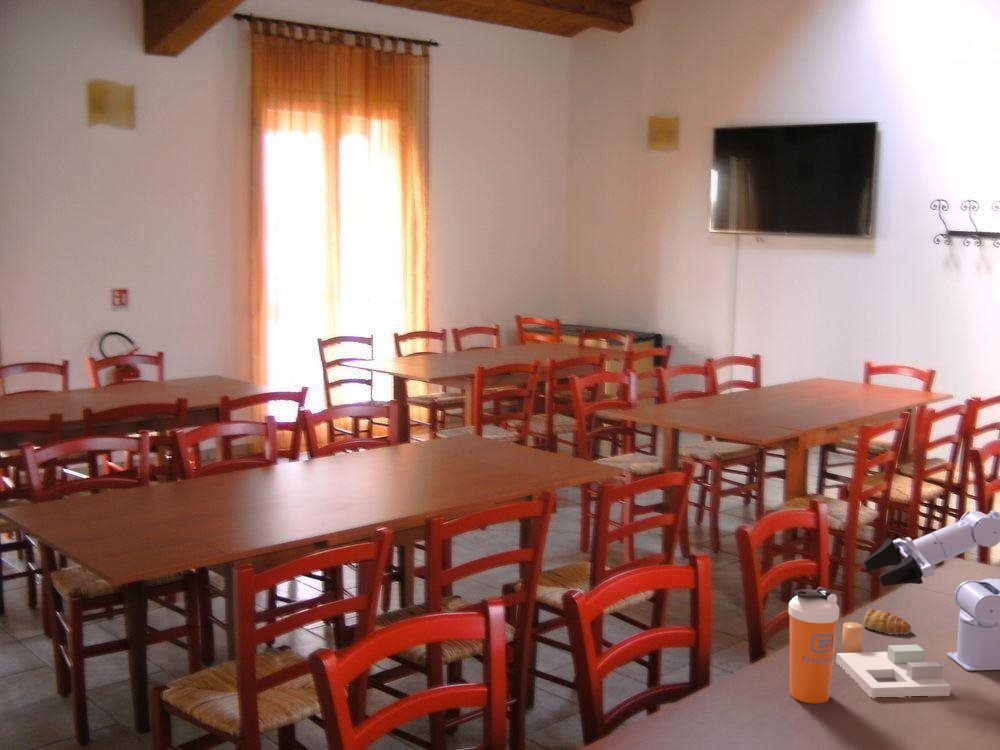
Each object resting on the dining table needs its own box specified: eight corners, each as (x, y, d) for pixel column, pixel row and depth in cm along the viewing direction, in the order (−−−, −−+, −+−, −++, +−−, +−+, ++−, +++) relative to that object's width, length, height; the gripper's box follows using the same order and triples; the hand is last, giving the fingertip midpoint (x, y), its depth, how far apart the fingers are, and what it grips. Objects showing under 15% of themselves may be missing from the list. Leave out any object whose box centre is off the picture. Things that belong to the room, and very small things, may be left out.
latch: (916, 656, 204) (917, 644, 203) (923, 662, 201) (924, 650, 200) (887, 657, 203) (887, 645, 203) (894, 663, 200) (894, 651, 200)
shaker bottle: (774, 689, 193) (779, 586, 190) (812, 681, 197) (817, 580, 194) (806, 709, 185) (811, 602, 182) (845, 701, 189) (851, 596, 186)
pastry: (914, 630, 223) (915, 613, 223) (905, 640, 218) (906, 623, 218) (870, 620, 229) (871, 604, 229) (860, 629, 224) (861, 613, 223)
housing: (908, 660, 207) (909, 639, 206) (949, 695, 191) (951, 672, 191) (836, 662, 206) (837, 641, 205) (871, 698, 190) (872, 675, 189)
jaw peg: (857, 649, 212) (858, 622, 211) (865, 657, 208) (867, 629, 207) (838, 650, 212) (839, 622, 211) (846, 658, 208) (848, 629, 207)
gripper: (915, 516, 209) (852, 542, 210) (948, 542, 195) (881, 570, 196) (925, 546, 211) (863, 572, 211) (959, 574, 196) (893, 602, 197)
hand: (873, 573), depth 203 cm, fingers open, 7 cm apart
